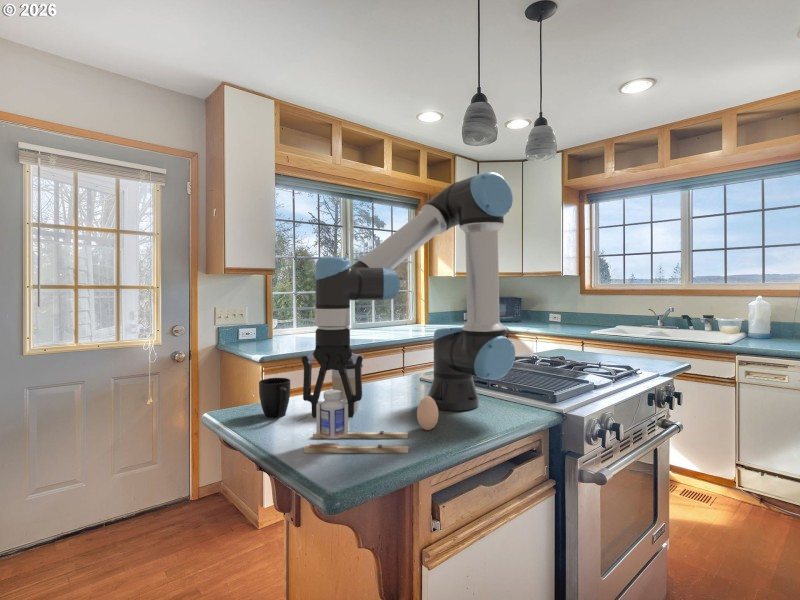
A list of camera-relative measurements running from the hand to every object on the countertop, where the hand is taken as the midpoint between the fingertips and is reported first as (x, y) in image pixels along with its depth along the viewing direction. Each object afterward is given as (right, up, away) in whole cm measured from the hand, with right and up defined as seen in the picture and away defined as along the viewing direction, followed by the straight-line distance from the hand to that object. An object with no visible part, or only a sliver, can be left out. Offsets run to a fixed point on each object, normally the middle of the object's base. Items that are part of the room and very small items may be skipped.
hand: (333, 431), depth 95 cm
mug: (-18, -3, +20) cm, 27 cm away
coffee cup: (0, -2, +27) cm, 27 cm away
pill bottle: (0, -1, 0) cm, 1 cm away
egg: (+22, -3, +10) cm, 24 cm away
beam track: (+6, -3, 0) cm, 6 cm away
